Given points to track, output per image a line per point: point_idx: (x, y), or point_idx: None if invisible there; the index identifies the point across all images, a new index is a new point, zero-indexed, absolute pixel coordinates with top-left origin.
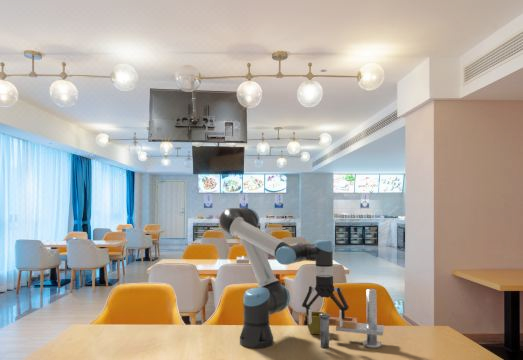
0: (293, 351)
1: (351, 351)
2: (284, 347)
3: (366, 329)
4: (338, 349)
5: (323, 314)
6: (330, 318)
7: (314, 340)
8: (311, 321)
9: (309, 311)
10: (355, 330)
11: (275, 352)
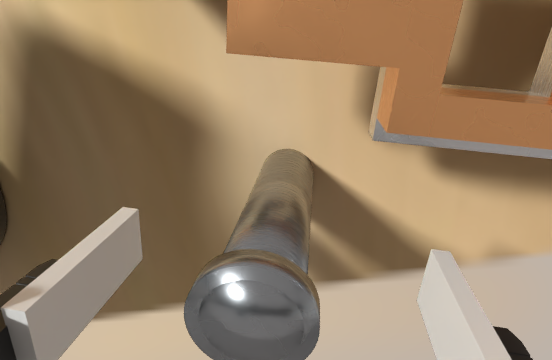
0: (142, 267)
1: (453, 211)
2: (80, 225)
3: None
4: (372, 195)
5: (236, 329)
6: (308, 39)
7: (201, 62)
8: (132, 228)
9: (56, 352)
10: None
11: None
